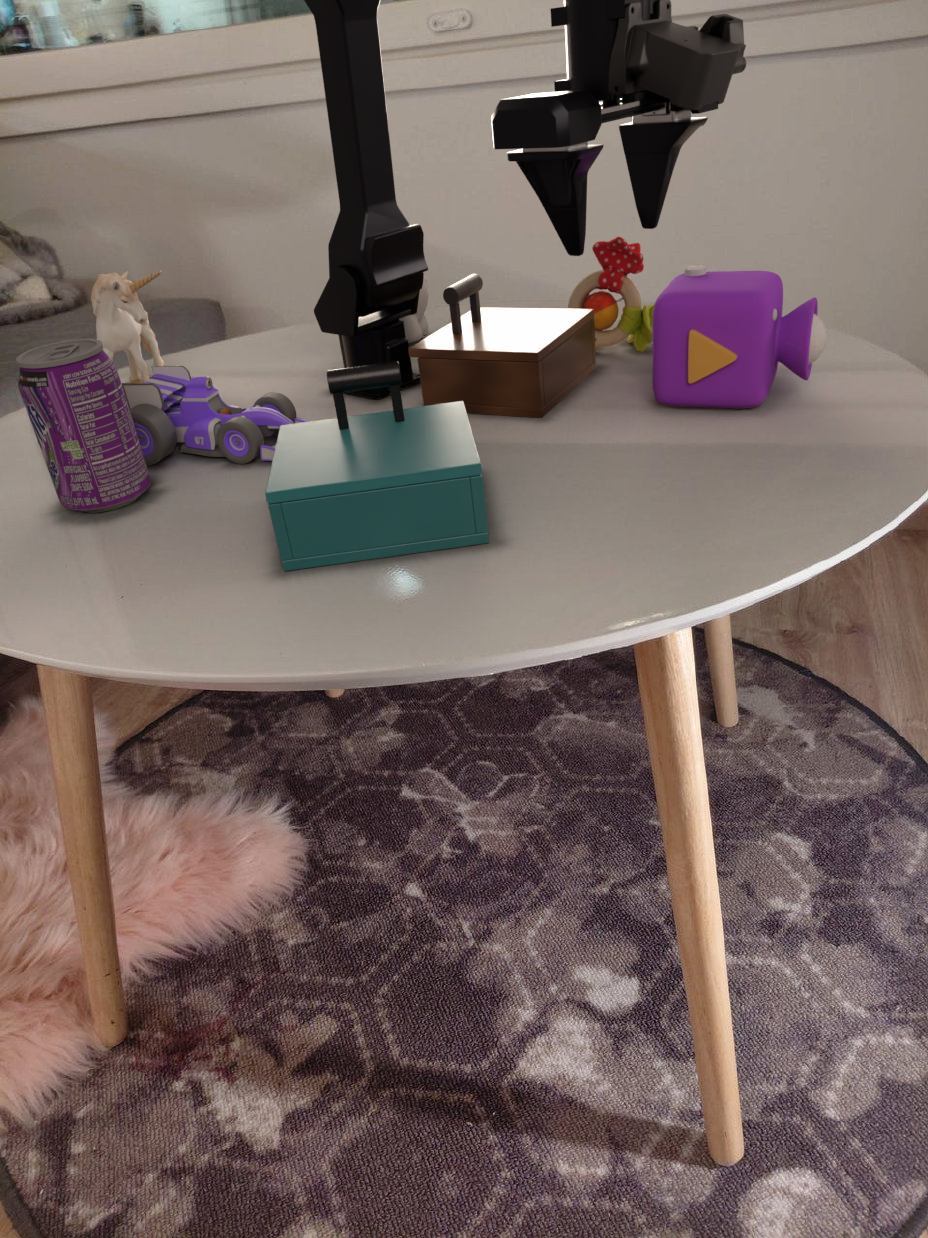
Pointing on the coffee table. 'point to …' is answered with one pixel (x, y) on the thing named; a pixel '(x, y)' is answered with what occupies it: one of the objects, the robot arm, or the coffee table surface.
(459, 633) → the coffee table surface
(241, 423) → the toy race car
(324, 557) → the teal box
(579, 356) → the box
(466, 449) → the lid
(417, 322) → the toy rhinoceros
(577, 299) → the bird rattle
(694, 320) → the toy camera
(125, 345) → the unicorn figurine
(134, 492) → the beverage can
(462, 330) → the lid
